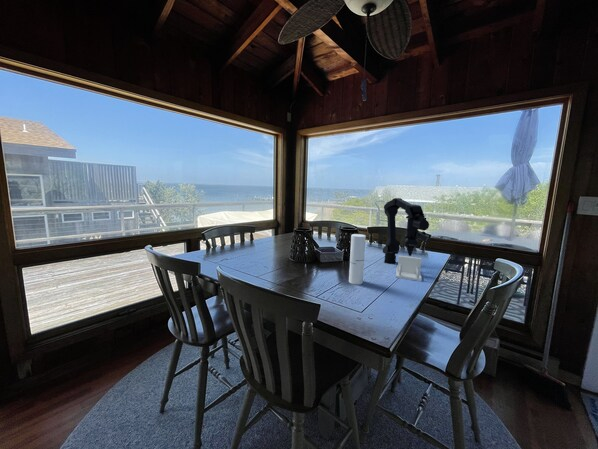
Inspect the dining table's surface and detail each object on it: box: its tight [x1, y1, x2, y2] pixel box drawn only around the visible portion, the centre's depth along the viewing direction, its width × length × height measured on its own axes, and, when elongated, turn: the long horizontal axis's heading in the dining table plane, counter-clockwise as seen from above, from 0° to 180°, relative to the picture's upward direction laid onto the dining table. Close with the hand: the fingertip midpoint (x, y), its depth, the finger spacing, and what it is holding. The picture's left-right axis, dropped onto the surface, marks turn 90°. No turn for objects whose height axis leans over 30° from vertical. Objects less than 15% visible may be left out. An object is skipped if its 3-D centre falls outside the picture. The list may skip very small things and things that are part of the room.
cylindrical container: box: [348, 233, 367, 285], centre depth 132 cm, size 7×7×25 cm
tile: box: [397, 255, 422, 274], centre depth 146 cm, size 12×2×9 cm, turn 68°
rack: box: [395, 265, 423, 282], centre depth 147 cm, size 13×18×6 cm
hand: (409, 253), depth 147 cm, fingers open, 9 cm apart
